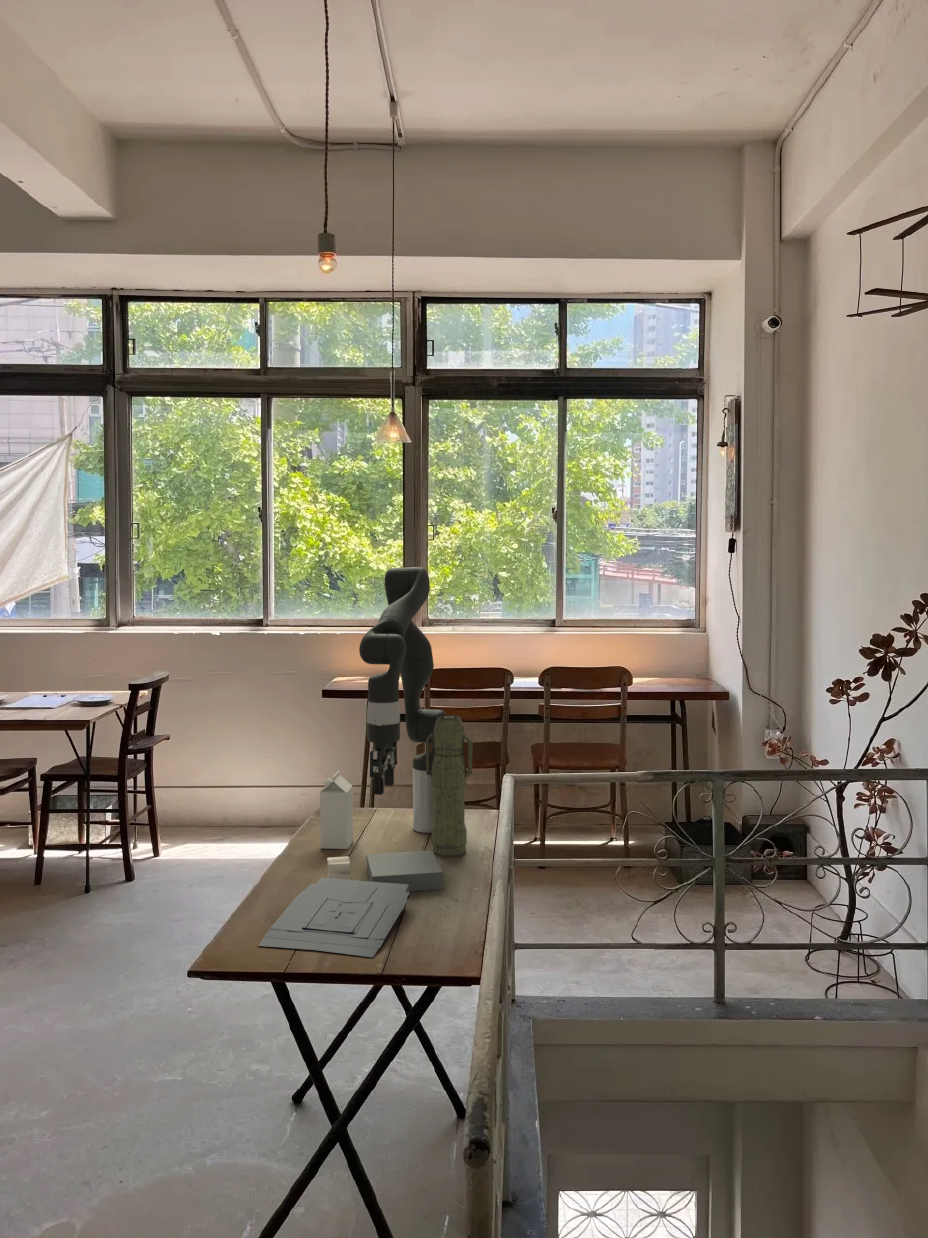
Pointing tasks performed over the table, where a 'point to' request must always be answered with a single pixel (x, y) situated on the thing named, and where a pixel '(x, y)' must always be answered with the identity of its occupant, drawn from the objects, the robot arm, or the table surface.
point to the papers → (339, 917)
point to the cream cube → (339, 867)
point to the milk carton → (336, 813)
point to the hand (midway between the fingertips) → (384, 789)
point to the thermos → (449, 785)
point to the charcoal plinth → (406, 869)
